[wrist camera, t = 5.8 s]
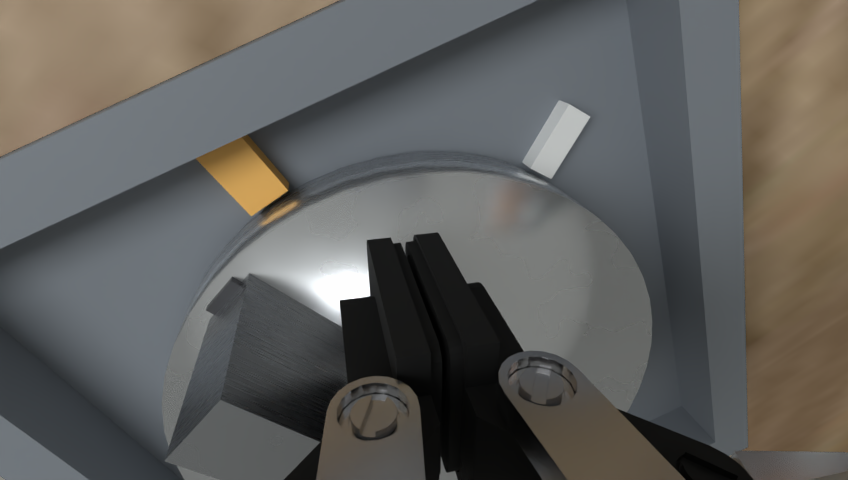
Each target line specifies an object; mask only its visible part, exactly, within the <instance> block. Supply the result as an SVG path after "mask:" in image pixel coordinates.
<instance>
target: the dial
mask: <svg viewBox="0 0 848 480" xmlns="http://www.w3.org/2000/svg"><path fill="white" fill-rule="evenodd" d="M436 232H438V233H439V234H440V236H441V238H442V240H443V241H444V243H445V245H446V247H447V249H448V250H449V252H450V254H451V256H452V257H453V259H454V261H455V263H456V265H457V266H458V268H459V270H460V272H461V273H462V275H463V277H464V279H465V281H466V282H467V283H475V282H480V283H481V284H482V285H483V286H484V287H485V289H486V291H487V292H488V294H489V296H490V297H491V299H492V300H493V302H494V304H495V305H496V307H497V308H498V310H499V312H500V313H501V315H502V317H503V318H504V320H505V321H506V323H507V325H508V326H509V328H510V330H511V331H512V333H513V334H514V336H515V338H516V339H517V341H518V343H519V344H520V346H521V347H522V349H523V351H544V352H548V353H551V354H555V355H558V356H560V357H562V358H564V359H566V360H568V361H569V362H570V363H572V364H573V365H574V366H575V367H577V368H578V369H579V370H580V371H581V372H582V373H583V374H584V375H585V376H586V377H587V379H588V380H589V381H590V382H591V383H592V384H593V385H594V386H595V387H596V388H597V389H598V390H599V391H600V392H601V393H602V394H603V395H604V396H605V397H606V398H607V399H608V400H609V401H610V402H611V403H612V404H613V405H614V406H615V407H616V408H617V409H620V410H622V411H625V412H627V411H628V410H629V408H630V406H631V404H632V402H633V400H634V398H635V396H636V394H637V392H638V390H639V388H640V385H641V382H642V379H643V376H644V373H645V370H646V367H647V363H648V358H649V353H650V348H651V340H652V314H651V305H650V298H649V294H648V291H647V288H646V285H645V281H644V278H643V275H642V273H641V271H640V269H639V267H638V265H637V263H636V262H635V260H634V258H633V256H632V254H631V253H630V251H629V250H628V249H627V247H626V246H625V245H624V244H623V242H622V241H621V240H620V238H619V237H618V236H617V235H616V233H614V232H613V231H612V230H611V229H610V228H609V227H608V226H607V225H606V224H604V223H603V222H602V221H601V220H600V219H599V218H598V217H597V216H595V215H594V214H593V213H591V212H590V211H589V210H587V209H586V208H585V207H583V206H582V205H581V204H579V203H578V202H576V201H575V200H574V199H572V198H571V197H570V196H568V195H567V194H566V193H564V192H563V191H562V190H560V189H559V188H557V187H556V186H554V185H552V184H551V183H549V182H548V181H546V180H544V179H543V178H541V177H540V176H538V175H536V174H534V173H532V172H529V171H527V170H524V169H522V168H520V167H517V166H515V165H513V164H510V163H507V162H503V161H499V160H496V159H492V158H488V157H484V156H480V155H472V154H464V153H455V152H410V153H403V154H396V155H390V156H383V157H376V158H373V159H369V160H366V161H362V162H359V163H355V164H352V165H348V166H345V167H341V168H339V169H336V170H334V171H332V172H329V173H327V174H325V175H322V176H320V177H317V178H315V179H313V180H310V181H308V182H306V183H304V184H303V185H301V186H299V187H298V188H296V189H294V190H292V191H291V192H289V193H287V194H286V195H284V196H282V197H281V198H279V199H277V200H275V201H274V202H273V203H272V204H270V205H269V206H268V207H266V208H265V209H264V210H263V211H261V212H260V213H259V214H258V215H256V216H255V217H254V218H252V219H251V220H250V221H249V222H247V223H246V224H245V225H244V227H243V228H242V229H241V230H240V231H239V232H238V233H237V234H236V235H235V236H234V237H233V238H232V239H231V240H230V241H229V242H228V243H227V244H226V245H225V246H224V247H223V249H222V250H221V252H220V253H219V254H218V256H217V257H216V259H215V260H214V261H213V263H212V264H211V266H210V267H209V268H208V270H207V271H206V273H205V274H204V277H203V279H202V281H201V283H200V285H199V287H198V289H197V291H196V293H195V295H194V297H193V299H192V301H191V303H190V306H189V308H188V311H187V313H186V316H185V318H184V321H183V323H182V326H181V328H180V331H179V333H178V336H177V338H176V341H175V343H174V346H173V349H172V352H171V356H170V359H169V363H168V366H167V369H166V373H165V377H164V386H163V396H162V414H163V424H164V432H165V436H166V439H167V442H168V446H169V448H168V451H167V454H166V457H165V462H168V463H171V464H174V465H177V467H178V469H179V471H180V473H181V475H182V477H183V478H184V480H284V479H285V478H286V477H287V476H288V475H289V474H290V473H291V472H292V471H293V470H294V469H295V468H296V467H297V466H298V464H299V463H300V462H301V461H302V460H303V459H304V458H305V457H306V456H307V455H308V454H309V453H310V452H311V451H312V450H313V449H314V448H315V447H316V446H317V445H318V444H319V443H320V442H321V441H322V438H323V431H324V425H325V418H326V412H327V409H328V406H329V403H330V401H331V400H332V398H333V397H334V396H335V394H336V393H337V392H338V391H339V390H340V389H342V388H343V387H344V386H346V385H347V384H348V382H347V372H346V362H345V352H344V342H343V332H342V321H341V311H340V301H339V300H344V299H352V298H360V297H367V296H370V285H369V272H368V258H367V240H371V239H380V238H390V237H391V239H392V242H393V243H401V244H402V247H403V250H404V252H405V244H406V242H409V241H413V237H414V235H417V234H427V233H436ZM439 480H458V479H457V476H456V472H455V471H454V472H449V473H447V472H446V471H445V468H444V465H443V462H442V458H441V472H440V475H439Z"/></svg>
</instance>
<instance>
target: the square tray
mask: <svg viewBox="0 0 848 480" xmlns="http://www.w3.org/2000/svg"><path fill="white" fill-rule="evenodd" d="M410 152H455V153H464V154H472V155H480V156H484V157H488V158H492V159H496V160H499V161H503V162H507V163H510V164H513V165H515V166H517V167H520V168H522V169H524V170H527V171H529V172H532V173H534V174H536V175H538V176H540V177H541V178H543V179H544V180H546V181H548V182H549V183H551V184H552V185H554V186H556V187H557V188H559V189H560V190H562V191H563V192H564V193H566V194H567V195H568V196H570V197H571V198H572V199H574V200H575V201H576V202H578V203H579V204H581V205H582V206H583V207H585V208H586V209H587V210H589V211H590V212H591V213H593V214H594V215H595V216H597V217H598V218H599V219H600V220H601V221H602V222H603V223H604V224H606V225H607V226H608V227H609V228H610V229H611V230H612V231H613V232H614V233H616V235H617V236H618V237H619V238H620V240H621V241H622V242H623V244H624V245H625V246H626V247H627V249H628V250H629V251H630V253H631V254H632V256H633V258H634V260H635V262H636V263H637V265H638V267H639V269H640V271H641V273H642V275H643V278H644V281H645V285H646V288H647V291H648V294H649V298H650V305H651V314H652V340H651V348H650V353H649V358H648V363H647V367H646V370H645V373H644V376H643V379H642V382H641V385H640V388H639V390H638V392H637V394H636V396H635V398H634V400H633V402H632V404H631V406H630V408H629V410H628V411H627V413H630V414H632V415H635V416H637V417H640V418H642V419H645V420H647V421H650V422H652V423H655V424H657V425H660V426H662V427H665V428H667V429H670V430H672V431H675V432H677V433H680V434H682V435H685V436H687V437H690V438H692V439H695V440H697V441H700V442H702V443H705V444H707V445H709V446H711V447H713V448H715V449H717V450H719V451H721V452H723V453H725V454H726V455H728V456H730V455H732V454H733V452H734V451H741V450H743V449H745V448H747V447H748V425H747V376H746V327H745V278H744V229H743V181H742V132H741V83H740V34H739V0H340V1H338V2H335V3H333V4H331V5H329V6H327V7H325V8H322V9H320V10H318V11H316V12H314V13H312V14H309V15H307V16H305V17H303V18H301V19H299V20H296V21H294V22H292V23H290V24H288V25H285V26H283V27H281V28H279V29H277V30H275V31H272V32H270V33H268V34H266V35H264V36H262V37H259V38H257V39H255V40H253V41H251V42H249V43H246V44H244V45H242V46H240V47H238V48H236V49H233V50H231V51H229V52H227V53H225V54H223V55H220V56H218V57H216V58H214V59H212V60H210V61H207V62H205V63H203V64H201V65H199V66H196V67H194V68H192V69H190V70H188V71H186V72H183V73H181V74H179V75H177V76H175V77H173V78H170V79H168V80H166V81H164V82H162V83H160V84H157V85H155V86H153V87H151V88H149V89H147V90H144V91H142V92H140V93H138V94H136V95H134V96H131V97H129V98H127V99H125V100H123V101H120V102H118V103H116V104H114V105H112V106H110V107H107V108H105V109H103V110H101V111H99V112H97V113H94V114H92V115H90V116H88V117H86V118H84V119H81V120H79V121H77V122H75V123H73V124H71V125H68V126H66V127H64V128H62V129H60V130H58V131H55V132H53V133H51V134H49V135H47V136H45V137H42V138H40V139H38V140H36V141H34V142H31V143H29V144H27V145H25V146H23V147H21V148H18V149H16V150H14V151H12V152H10V153H8V154H5V155H3V156H1V157H0V476H1V477H2V478H4V479H5V480H184V478H183V477H182V475H181V473H180V471H179V469H178V467H177V465H174V464H171V463H168V462H165V457H166V454H167V451H168V448H169V446H168V442H167V439H166V436H165V432H164V424H163V414H162V396H163V386H164V377H165V373H166V369H167V366H168V363H169V359H170V356H171V352H172V349H173V346H174V343H175V341H176V338H177V336H178V333H179V331H180V328H181V326H182V323H183V321H184V318H185V316H186V313H187V311H188V308H189V306H190V303H191V301H192V299H193V297H194V295H195V293H196V291H197V289H198V287H199V285H200V283H201V281H202V279H203V277H204V274H205V273H206V271H207V270H208V268H209V267H210V266H211V264H212V263H213V261H214V260H215V259H216V257H217V256H218V254H219V253H220V252H221V250H222V249H223V247H224V246H225V245H226V244H227V243H228V242H229V241H230V240H231V239H232V238H233V237H234V236H235V235H236V234H237V233H238V232H239V231H240V230H241V229H242V228H243V227H244V225H245V224H246V223H247V222H249V221H250V220H251V219H252V218H254V217H255V216H256V215H258V214H259V213H260V212H261V211H263V210H264V209H265V208H266V207H268V206H269V205H270V204H272V203H273V202H274V201H275V200H277V199H279V198H281V197H282V196H284V195H286V194H287V193H289V192H291V191H292V190H294V189H296V188H298V187H299V186H301V185H303V184H304V183H306V182H308V181H310V180H313V179H315V178H317V177H320V176H322V175H325V174H327V173H329V172H332V171H334V170H336V169H339V168H341V167H345V166H348V165H352V164H355V163H359V162H362V161H366V160H369V159H373V158H376V157H383V156H390V155H396V154H403V153H410Z"/></svg>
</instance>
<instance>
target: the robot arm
mask: <svg viewBox="0 0 848 480" xmlns="http://www.w3.org/2000/svg"><path fill="white" fill-rule="evenodd" d="M367 258H368V272H369V285H370V296H367V297H360V298H352V299H344V300H339V301H340V311H341V321H342V332H343V342H344V352H345V362H346V372H347V382H348V384H347V385H346V386H344V387H343V388H342V389H340V390H339V391H338V392H337V393H336V394H335V396H334V397H333V398H332V400H331V401H330V403H329V406H328V409H327V412H326V418H325V425H324V431H323V438H322V441H321V442H320V443H319V444H318V445H317V446H316V447H315V448H314V449H313V450H312V451H311V452H310V453H309V454H308V455H307V456H306V457H305V458H304V459H303V460H302V461H301V462H300V463H299V464H298V466H297V467H296V468H295V469H294V470H293V471H292V472H291V473H290V474H289V475H288V476H287V477H286V478H285V479H284V480H439V475H440V472H441V458H442V462H443V465H444V468H445V471H446V472H447V473H449V472H454V471H455V472H456V476H457V479H458V480H848V453H845V452H791V451H734V452H733V454H732V456H731V457H729V456H728V455H726V454H725V453H723V452H721V451H719V450H717V449H715V448H713V447H711V446H709V445H707V444H705V443H702V442H700V441H697V440H695V439H692V438H690V437H687V436H685V435H682V434H680V433H677V432H675V431H672V430H670V429H667V428H665V427H662V426H660V425H657V424H655V423H652V422H650V421H647V420H645V419H642V418H640V417H637V416H635V415H632V414H630V413H627V412H625V411H622V410H620V409H617V408H616V407H615V406H614V405H613V404H612V403H611V402H610V401H609V400H608V399H607V398H606V397H605V396H604V395H603V394H602V393H601V392H600V391H599V390H598V389H597V388H596V387H595V386H594V385H593V384H592V383H591V382H590V381H589V380H588V379H587V377H586V376H585V375H584V374H583V373H582V372H581V371H580V370H579V369H578V368H577V367H575V366H574V365H573V364H572V363H570V362H569V361H568V360H566V359H564V358H562V357H560V356H558V355H555V354H551V353H548V352H544V351H523V349H522V347H521V346H520V344H519V343H518V341H517V339H516V338H515V336H514V334H513V333H512V331H511V330H510V328H509V326H508V325H507V323H506V321H505V320H504V318H503V317H502V315H501V313H500V312H499V310H498V308H497V307H496V305H495V304H494V302H493V300H492V299H491V297H490V296H489V294H488V292H487V291H486V289H485V287H484V286H483V285H482V284H481V283H480V282H475V283H467V282H466V281H465V279H464V277H463V275H462V273H461V272H460V270H459V268H458V266H457V265H456V263H455V261H454V259H453V257H452V256H451V254H450V252H449V250H448V249H447V247H446V245H445V243H444V241H443V240H442V238H441V236H440V234H439V233H438V232H436V233H427V234H417V235H414V237H413V241H409V242H406V244H405V252H404V250H403V247H402V244H401V243H393V242H392V239H391V237H390V238H380V239H371V240H367Z"/></svg>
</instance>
